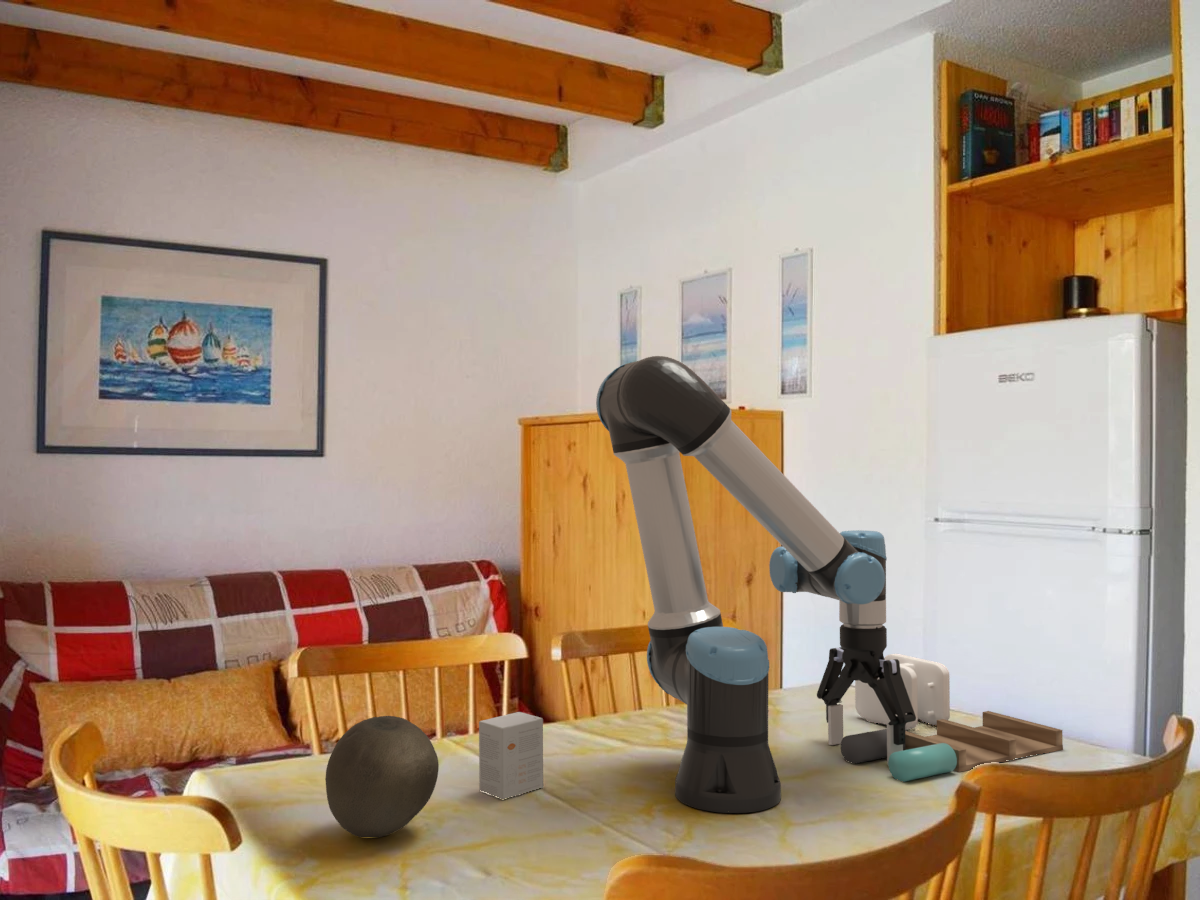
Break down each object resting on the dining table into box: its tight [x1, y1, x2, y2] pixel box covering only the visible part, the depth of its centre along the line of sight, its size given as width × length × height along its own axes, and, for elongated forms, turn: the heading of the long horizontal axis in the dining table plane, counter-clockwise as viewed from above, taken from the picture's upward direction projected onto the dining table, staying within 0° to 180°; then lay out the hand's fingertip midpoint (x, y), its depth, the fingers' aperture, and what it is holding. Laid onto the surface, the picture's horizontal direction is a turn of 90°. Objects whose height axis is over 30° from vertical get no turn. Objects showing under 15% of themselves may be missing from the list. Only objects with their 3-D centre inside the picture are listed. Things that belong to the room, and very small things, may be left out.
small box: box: [478, 711, 544, 799], centre depth 150 cm, size 8×6×10 cm
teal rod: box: [887, 743, 957, 783], centre depth 157 cm, size 10×4×4 cm, turn 119°
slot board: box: [905, 710, 1064, 773], centre depth 171 cm, size 25×15×3 cm, turn 119°
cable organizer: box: [854, 653, 951, 731], centre depth 189 cm, size 15×11×12 cm
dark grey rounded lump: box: [324, 715, 440, 838], centre depth 132 cm, size 14×14×15 cm
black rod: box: [840, 728, 905, 764], centre depth 166 cm, size 10×4×4 cm
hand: (864, 753), depth 168 cm, fingers open, 13 cm apart
